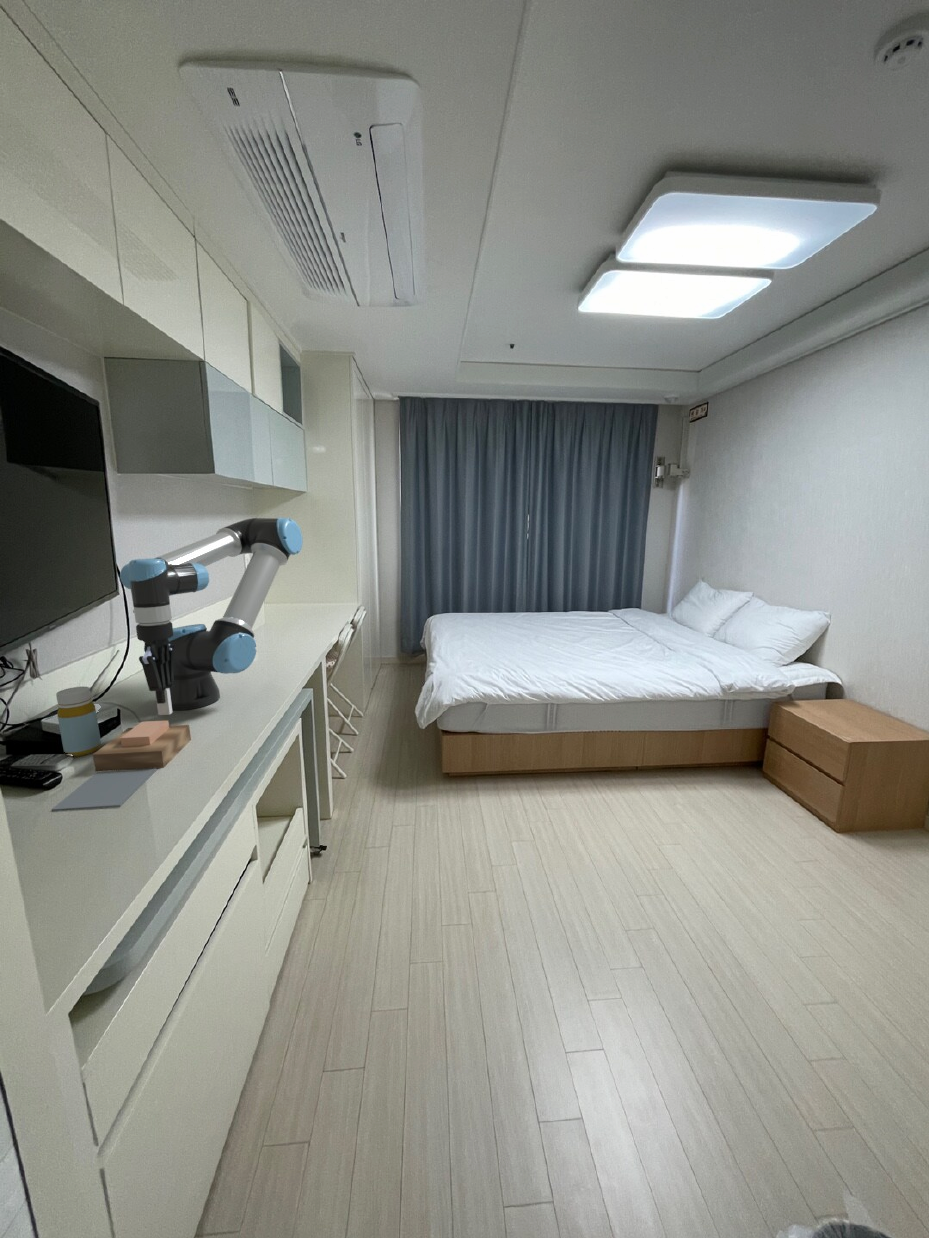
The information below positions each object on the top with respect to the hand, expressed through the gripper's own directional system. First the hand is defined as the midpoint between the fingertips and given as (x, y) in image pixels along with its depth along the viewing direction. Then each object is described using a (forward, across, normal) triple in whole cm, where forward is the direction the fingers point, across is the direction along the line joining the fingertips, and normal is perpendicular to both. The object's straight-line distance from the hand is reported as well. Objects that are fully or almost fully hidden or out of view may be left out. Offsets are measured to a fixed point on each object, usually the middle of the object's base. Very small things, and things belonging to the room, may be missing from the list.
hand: (165, 713), depth 123 cm
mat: (+6, +26, 0) cm, 26 cm away
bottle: (+6, +7, -16) cm, 18 cm away
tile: (+2, +10, 0) cm, 10 cm away
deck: (+6, +11, 0) cm, 12 cm away
